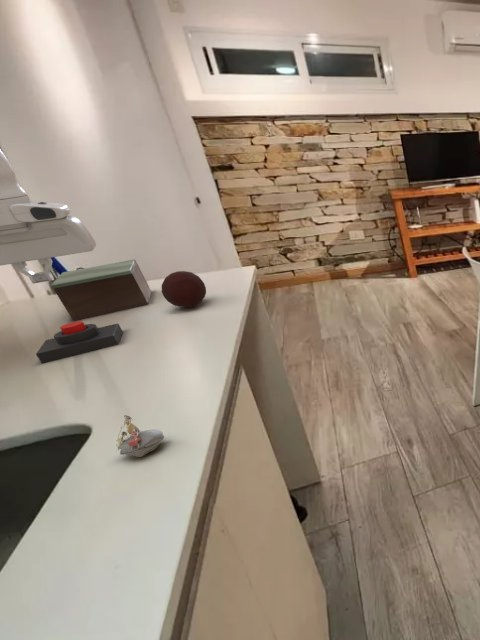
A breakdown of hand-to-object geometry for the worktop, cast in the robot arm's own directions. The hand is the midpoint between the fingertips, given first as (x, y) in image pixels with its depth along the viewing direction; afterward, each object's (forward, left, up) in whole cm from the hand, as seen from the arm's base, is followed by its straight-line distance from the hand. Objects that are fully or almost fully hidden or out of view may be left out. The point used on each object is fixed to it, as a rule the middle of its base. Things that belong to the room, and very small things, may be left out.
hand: (43, 281), depth 98 cm
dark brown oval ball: (+19, +12, -15) cm, 27 cm away
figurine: (+14, -61, -15) cm, 65 cm away
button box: (0, -1, -15) cm, 15 cm away
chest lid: (+2, +30, -6) cm, 31 cm away
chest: (+2, +31, -15) cm, 34 cm away
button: (0, -1, -11) cm, 11 cm away
